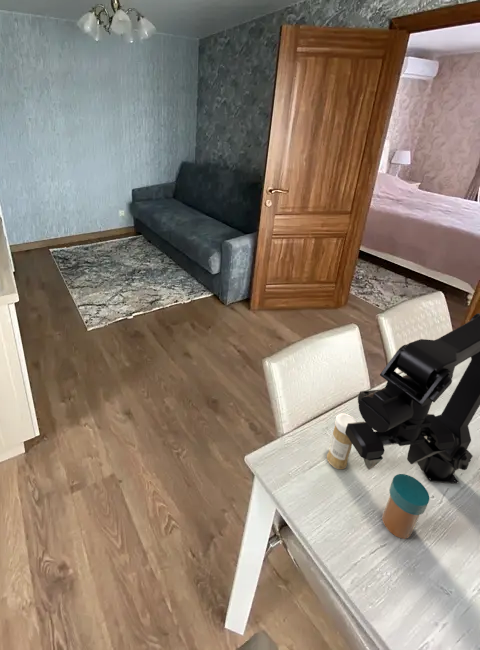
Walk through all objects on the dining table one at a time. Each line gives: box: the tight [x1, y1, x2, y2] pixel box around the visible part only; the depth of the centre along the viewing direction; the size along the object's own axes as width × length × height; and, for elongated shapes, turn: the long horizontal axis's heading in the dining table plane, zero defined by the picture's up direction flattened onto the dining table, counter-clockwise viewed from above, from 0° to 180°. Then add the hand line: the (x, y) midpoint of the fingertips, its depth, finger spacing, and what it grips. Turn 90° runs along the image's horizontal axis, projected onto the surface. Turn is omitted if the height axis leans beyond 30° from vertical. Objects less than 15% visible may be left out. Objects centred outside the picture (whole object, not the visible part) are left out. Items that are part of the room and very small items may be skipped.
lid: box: [389, 473, 430, 516], centre depth 68 cm, size 6×6×3 cm
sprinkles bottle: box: [326, 412, 358, 470], centre depth 81 cm, size 5×5×13 cm
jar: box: [381, 494, 420, 540], centre depth 69 cm, size 5×5×11 cm
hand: (388, 464), depth 69 cm, fingers open, 9 cm apart
